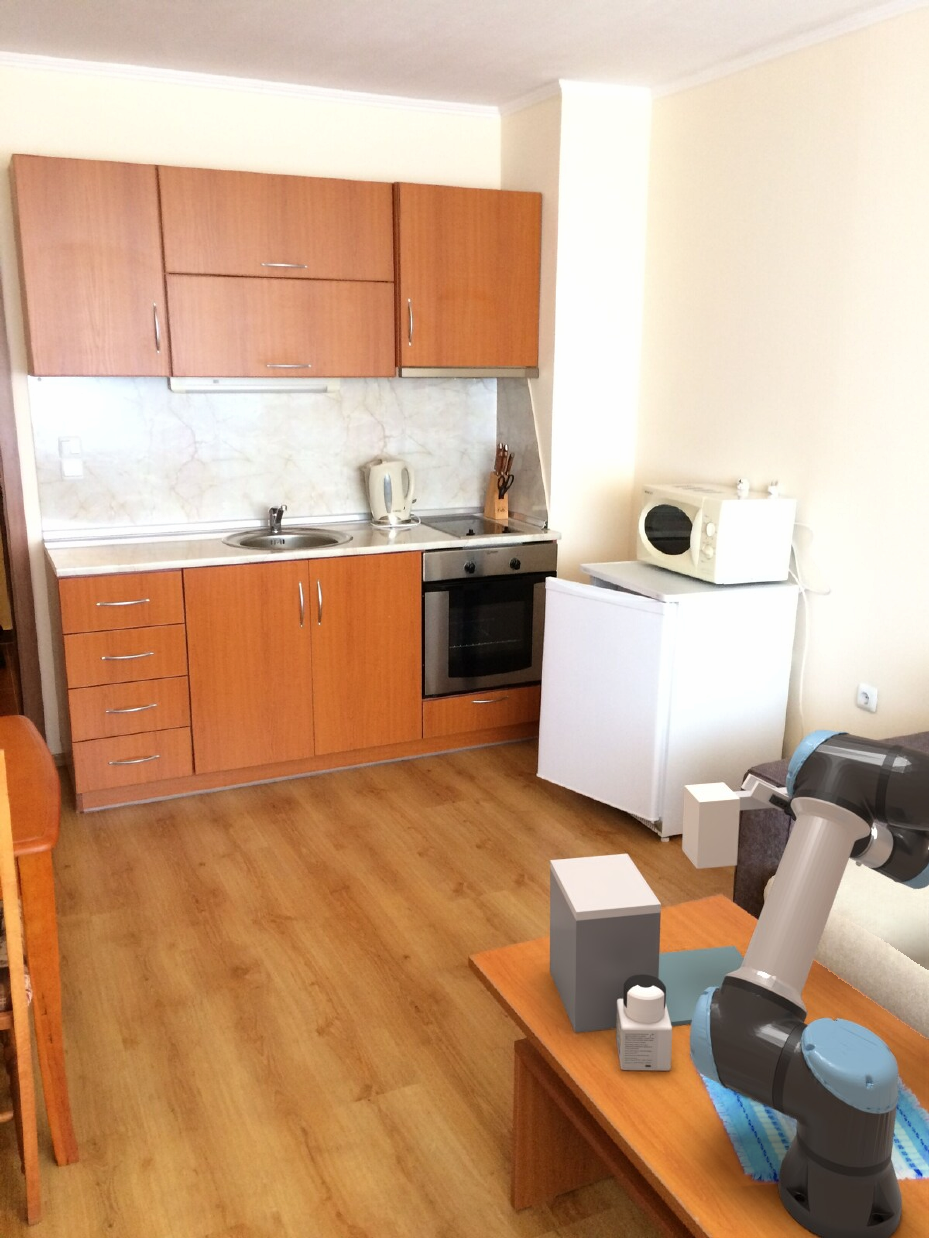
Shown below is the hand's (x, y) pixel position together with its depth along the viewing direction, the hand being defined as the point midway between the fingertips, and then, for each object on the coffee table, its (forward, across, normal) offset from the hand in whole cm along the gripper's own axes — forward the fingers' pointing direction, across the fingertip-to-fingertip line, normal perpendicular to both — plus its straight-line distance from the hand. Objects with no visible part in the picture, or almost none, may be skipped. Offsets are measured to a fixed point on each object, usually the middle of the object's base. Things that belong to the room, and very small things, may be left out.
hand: (750, 784), depth 175 cm
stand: (+3, 0, -45) cm, 45 cm away
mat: (-13, 0, -36) cm, 38 cm away
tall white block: (-5, 0, -12) cm, 13 cm away
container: (+1, -16, -44) cm, 47 cm away
